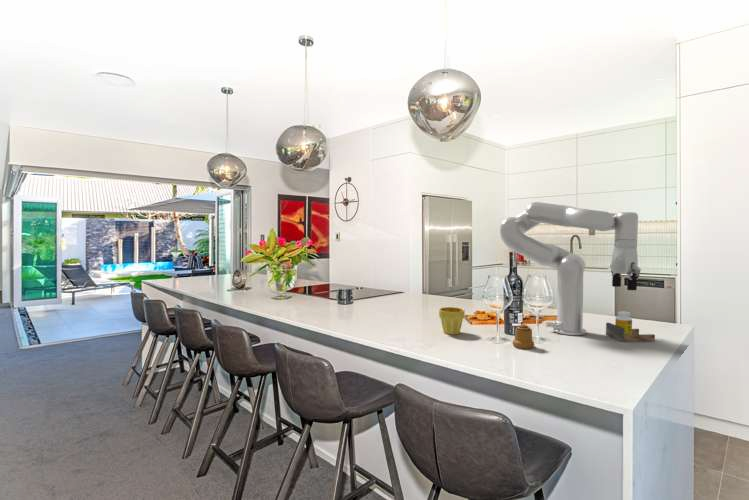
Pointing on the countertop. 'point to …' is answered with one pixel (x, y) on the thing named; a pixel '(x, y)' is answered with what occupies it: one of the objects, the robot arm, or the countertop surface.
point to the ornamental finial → (523, 337)
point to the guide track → (619, 335)
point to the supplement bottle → (624, 322)
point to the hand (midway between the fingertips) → (623, 288)
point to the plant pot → (451, 319)
